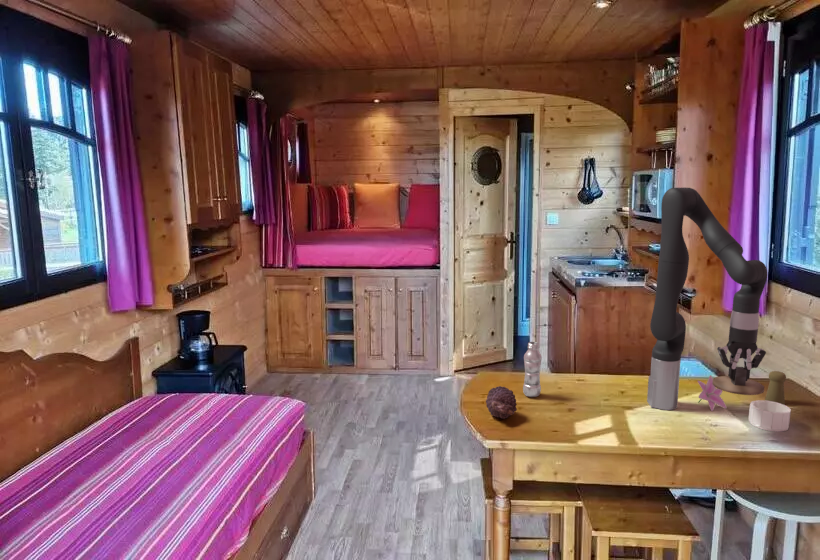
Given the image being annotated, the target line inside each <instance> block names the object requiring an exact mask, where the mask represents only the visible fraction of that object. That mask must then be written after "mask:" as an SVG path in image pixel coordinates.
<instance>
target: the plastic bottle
mask: <svg viewBox="0 0 820 560" xmlns="http://www.w3.org/2000/svg"><path fill="white" fill-rule="evenodd" d="M542 358H543V357H542V355H541V353H540V351H539V343H538V342H537V341H529V342H528V343H527V350H526V352H525V353H524V355H523V362H524V363H523V364H524V381H523V386H522V391H523V394H524V395H525V396H526V397H529V398H536V397H539V396H540V395H541V391H542V387H541V380H540V379H541V378H540V377H541V376H540V374H541V373H540V372H541V365H542V360H543V359H542Z"/></svg>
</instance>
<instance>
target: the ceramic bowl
mask: <svg viewBox="0 0 820 560" xmlns="http://www.w3.org/2000/svg"><path fill="white" fill-rule="evenodd" d="M791 411H792V409H791V408H790V407H789V406H787V405H785V404H784V405H783V404H780V403H777V402H772V401H765V399H764V400H758V399H757V400H752V401H750V404H749V410H748V423H749V424H750V425H751V426H753V427H755V428H758V429H761V430H764V431H769V432H776V433H777V432H786V431H788V430H789V429H790V428H789V426H790V420H791V413H792V412H791Z"/></svg>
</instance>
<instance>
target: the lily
mask: <svg viewBox="0 0 820 560" xmlns="http://www.w3.org/2000/svg"><path fill="white" fill-rule="evenodd" d="M713 379H714V377H713V376H712V375H709V376H708V379H707V382H706V383H705V382H704V381H703V382H702V381H701V380H697V383H698V385H699V386H700V388H701V390H702V391H701V392H700V393H699V395H698V398H699V400H698V401H697V403H700V402H701V401H702V400H703V401H707V403H708V405H709V409H710V411H711V412H713V411H714V409H715V405H717V406H719V407H721V408H722V409H723V408H724V409H725V410H726V409H727V405H726V403H725V402H724V399H723V398H722V397H721V395H722V394H723V390H720V389H718V388H716V387H715V386H714V385H713Z"/></svg>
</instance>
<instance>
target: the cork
mask: <svg viewBox="0 0 820 560" xmlns="http://www.w3.org/2000/svg"><path fill="white" fill-rule="evenodd" d="M768 379H769V384H768V386H767V387H768V388H767V390H766V395H765V398H764V401H772V402H777V403H780V404H783V405H785V403H786V401H785V397H786V396H785V384H784V383H785V382H786V380H787V375H786V374H785V373H784V372H782V371H779V370H777V371H776V370H774V371H773V370H772V371H770V372H769V374H768Z"/></svg>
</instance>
